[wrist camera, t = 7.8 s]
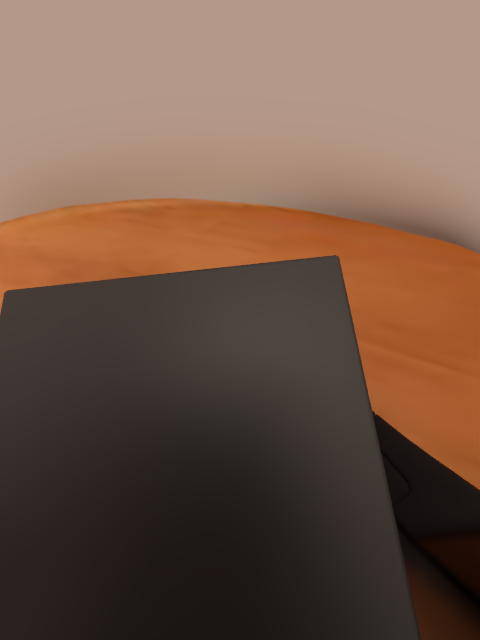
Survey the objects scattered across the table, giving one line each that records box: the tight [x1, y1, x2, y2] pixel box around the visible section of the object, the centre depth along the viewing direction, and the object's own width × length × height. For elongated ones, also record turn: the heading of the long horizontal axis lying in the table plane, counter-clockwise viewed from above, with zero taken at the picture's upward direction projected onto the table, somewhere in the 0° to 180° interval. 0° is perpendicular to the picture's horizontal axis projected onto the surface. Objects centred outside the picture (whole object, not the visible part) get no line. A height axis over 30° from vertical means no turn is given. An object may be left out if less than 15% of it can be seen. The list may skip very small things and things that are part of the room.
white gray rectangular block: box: [0, 255, 421, 640], centre depth 9 cm, size 5×5×12 cm
